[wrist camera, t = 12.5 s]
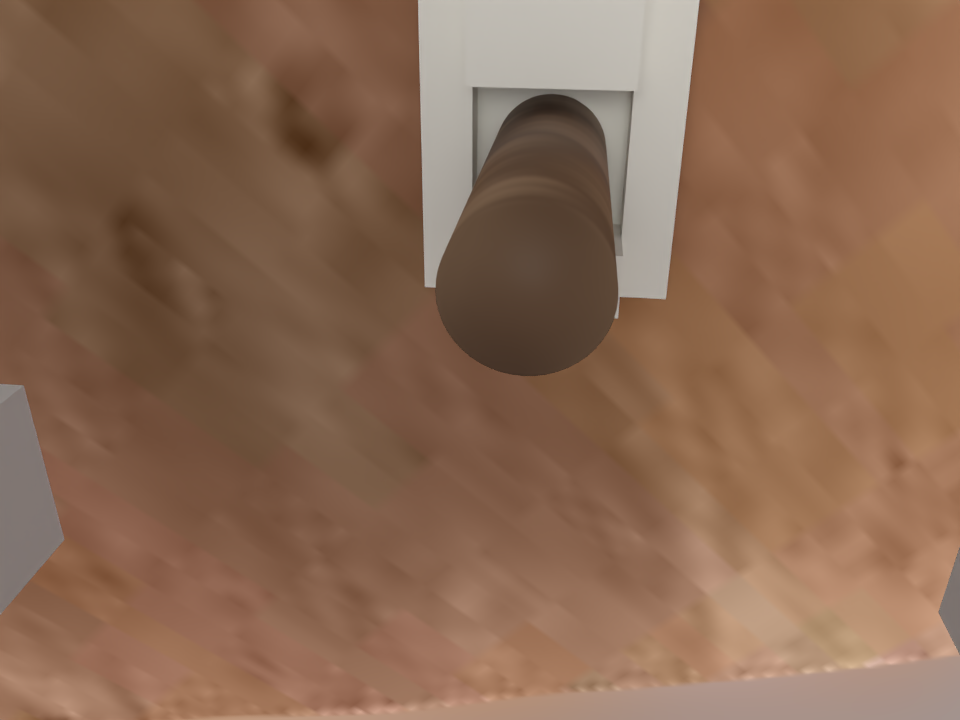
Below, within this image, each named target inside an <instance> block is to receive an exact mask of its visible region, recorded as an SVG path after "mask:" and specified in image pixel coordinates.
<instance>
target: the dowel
mask: <svg viewBox="0 0 960 720" xmlns="http://www.w3.org/2000/svg"><path fill="white" fill-rule="evenodd" d="M435 292H436V302H437V306H438V311H439V314H440V317H441V319H442V322H443V324H444V326H445V328H446V330H447V331H448V333H449V334H450V336H451V337H452V339H453V340H454V341H455V343H456V344H457V345H458V346H459V347H460V348H461V349H462V350H463V351H464V352H465V353H467V354H468V355H469V356H470V357H472V358H473V359H475V360H476V361H478V362H479V363H481V364H483V365H485V366H487V367H489V368H491V369H494V370H497V371H500V372H503V373H508V374H512V375H520V376H537V375H546V374H550V373H554V372H558V371H561V370H563V369H566V368H568V367H570V366H572V365H574V364H576V363H578V362H579V361H581V360H582V359H584V358H585V357H587V356H588V355H589V354H590V353H591V352H592V351H593V350H594V349H596V347H597V346H598V345H599V344H600V343H601V341H602V340H603V339H604V337H605V336H606V334H607V333H608V331H609V329H610V327H611V325H612V322H613V320H614V317H615V313H616V310H617V304H618V278H617V266H616V254H615V243H614V231H613V220H612V208H611V196H610V185H609V173H608V162H607V150H606V141H605V135H604V132H603V129H602V127H601V124H600V122H599V121H598V119H597V117H596V116H595V115H594V114H593V112H592V111H591V110H590V109H589V108H588V107H587V106H585V105H584V104H582V103H581V102H579V101H578V100H576V99H574V98H571V97H568V96H565V95H560V94H544V95H538V96H535V97H532V98H530V99H527V100H525V101H524V102H522V103H520V104H519V105H518V106H516V107H515V108H514V109H513V110H512V111H511V112H510V113H509V114H508V115H507V117H506V118H505V120H504V121H503V123H502V125H501V127H500V129H499V132H498V134H497V136H496V138H495V141H494V143H493V145H492V147H491V149H490V152H489V154H488V156H487V158H486V161H485V163H484V165H483V167H482V169H481V172H480V174H479V176H478V178H477V180H476V183H475V185H474V187H473V189H472V192H471V194H470V196H469V198H468V200H467V203H466V205H465V207H464V209H463V212H462V214H461V216H460V218H459V220H458V223H457V225H456V227H455V229H454V232H453V234H452V236H451V238H450V240H449V243H448V245H447V247H446V249H445V252H444V254H443V256H442V258H441V261H440V264H439V267H438V271H437V276H436V288H435Z"/></svg>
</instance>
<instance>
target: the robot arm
mask: <svg viewBox="0 0 960 720" xmlns="http://www.w3.org/2000/svg"><path fill="white" fill-rule="evenodd" d="M63 541H64V536H63V533H62V529H61V525H60V521H59V518H58V514H57V510H56V506H55V502H54V499H53V495H52V491H51V487H50V483H49V480H48V476H47V472H46V468H45V465H44V461H43V457H42V453H41V449H40V446H39V442H38V438H37V434H36V430H35V427H34V423H33V419H32V415H31V412H30V408H29V404H28V400H27V396H26V393H25V389H24V385H9V384H0V614H1V613H2V612H3V611H4V610H5V608H6V607H7V606H8V605H9V604H10V603H11V601H12V600H13V599H14V598H15V597H16V596H17V594H18V593H19V592H20V591H21V590H22V589H23V587H24V586H25V585H26V584H27V583H28V582H29V580H30V579H31V578H32V577H33V576H34V575H35V573H36V572H37V571H38V570H39V569H40V568H41V566H42V565H43V564H44V563H45V562H46V561H47V559H48V558H49V557H50V556H51V555H52V554H53V552H54V551H55V550H56V549H57V548H58V546H59V545H60V544H61V543H62V542H63ZM939 614H940V616H941V618H942V620H943V622H944V624H945V626H946V628H947V630H948V632H949V634H950V636H951V638H952V640H953V642H954V644H955V646H956V648H957V650H958V652H959V654H960V548H959V551H958V554H957V557H956V560H955V563H954V566H953V569H952V572H951V575H950V578H949V582H948V585H947V588H946V591H945V594H944V597H943V600H942V603H941V606H940V609H939Z"/></svg>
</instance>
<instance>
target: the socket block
mask: <svg viewBox="0 0 960 720" xmlns="http://www.w3.org/2000/svg"><path fill="white" fill-rule="evenodd" d="M698 9H699V0H418V19H419V61H420V103H421V145H422V188H423V230H424V272H425V287H435V288H436V276H437V271H438V267H439V264H440V261H441V258H442V256H443V254H444V252H445V249H446V247H447V245H448V243H449V240H450V238H451V236H452V234H453V232H454V229H455V227H456V225H457V223H458V220H459V218H460V216H461V214H462V212H463V209H464V207H465V205H466V203H467V200H468V198H469V196H470V194H471V192H472V189H473V187H474V185H475V183H476V180H477V178H478V176H479V174H480V172H481V169H482V167H483V165H484V163H485V161H486V158H487V156H488V154H489V152H490V149H491V147H492V145H493V143H494V141H495V138H496V136H497V134H498V132H499V129H500V127H501V125H502V123H503V121H504V120H505V118H506V117H507V115H508V114H509V113H510V112H511V111H512V110H513V109H514V108H515V107H516V106H518V105H519V104H520V103H522V102H524V101H525V100H527V99H530V98H532V97H535V96H538V95H544V94H560V95H565V96H568V97H571V98H574V99H576V100H578V101H579V102H581V103H582V104H584V105H585V106H587V107H588V108H589V109H590V110H591V111H592V112H593V114H594V115H595V116H596V117H597V119H598V121H599V122H600V124H601V127H602V129H603V132H604V135H605V141H606V150H607V162H608V173H609V185H610V196H611V208H612V220H613V231H614V243H615V254H616V266H617V278H618V304H617V310H616V313H615V317H614V318H618V312H619V301H620V297H634V298H653V299H666V293H667V284H668V275H669V267H670V258H671V249H672V240H673V231H674V222H675V213H676V204H677V195H678V187H679V178H680V169H681V160H682V151H683V142H684V133H685V124H686V115H687V106H688V98H689V89H690V80H691V71H692V62H693V53H694V44H695V35H696V26H697V17H698Z"/></svg>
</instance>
